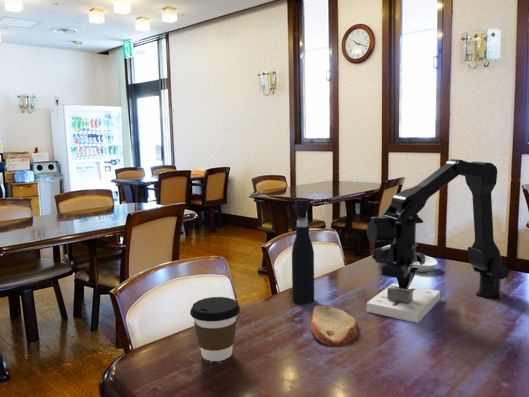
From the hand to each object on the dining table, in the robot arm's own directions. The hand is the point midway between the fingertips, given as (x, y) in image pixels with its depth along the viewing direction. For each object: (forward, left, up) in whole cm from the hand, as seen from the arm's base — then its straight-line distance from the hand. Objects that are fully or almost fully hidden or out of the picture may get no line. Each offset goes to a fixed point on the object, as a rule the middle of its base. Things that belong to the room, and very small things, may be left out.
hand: (403, 293), depth 128 cm
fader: (+3, 0, -1) cm, 3 cm away
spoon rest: (-39, -13, -4) cm, 41 cm away
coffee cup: (+51, -24, -4) cm, 57 cm away
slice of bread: (+24, -11, -4) cm, 26 cm away
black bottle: (+11, -26, -4) cm, 29 cm away
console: (-1, 0, -4) cm, 4 cm away
